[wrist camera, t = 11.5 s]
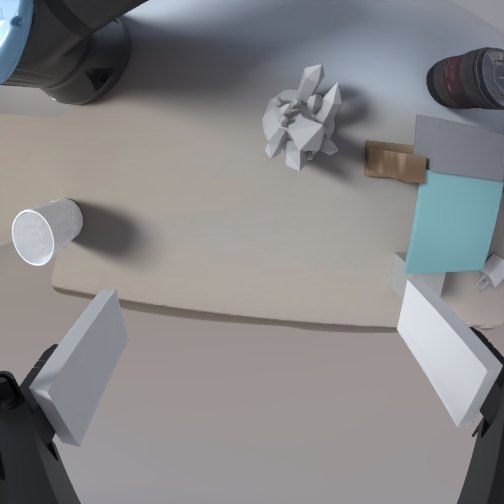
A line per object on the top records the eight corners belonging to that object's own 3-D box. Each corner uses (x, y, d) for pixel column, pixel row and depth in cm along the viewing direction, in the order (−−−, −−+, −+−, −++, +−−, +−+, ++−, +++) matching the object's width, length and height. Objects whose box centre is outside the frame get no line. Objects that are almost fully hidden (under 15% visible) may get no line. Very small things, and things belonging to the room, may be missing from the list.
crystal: (343, 84, 39) (386, 64, 25) (324, 173, 43) (359, 192, 29) (273, 66, 38) (285, 34, 24) (254, 157, 43) (257, 168, 29)
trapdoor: (411, 113, 32) (432, 117, 28) (489, 130, 32) (512, 137, 28) (393, 257, 41) (408, 276, 36) (466, 255, 41) (484, 271, 36)
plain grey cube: (406, 307, 43) (389, 286, 50) (438, 304, 43) (419, 285, 50) (413, 270, 41) (394, 252, 48) (446, 269, 41) (425, 252, 48)
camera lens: (414, 65, 37) (472, 47, 23) (451, 58, 36) (511, 44, 22) (431, 115, 40) (494, 114, 26) (467, 105, 39) (530, 105, 25)
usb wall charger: (497, 266, 49) (509, 274, 45) (475, 290, 51) (486, 299, 47) (492, 252, 48) (504, 260, 44) (469, 277, 50) (480, 286, 46)
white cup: (91, 204, 44) (58, 221, 35) (81, 249, 47) (50, 274, 37) (52, 187, 43) (15, 202, 34) (44, 232, 46) (9, 253, 36)
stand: (365, 140, 42) (407, 144, 29) (467, 154, 42) (520, 165, 30) (364, 175, 43) (404, 191, 31) (465, 183, 44) (516, 201, 31)
